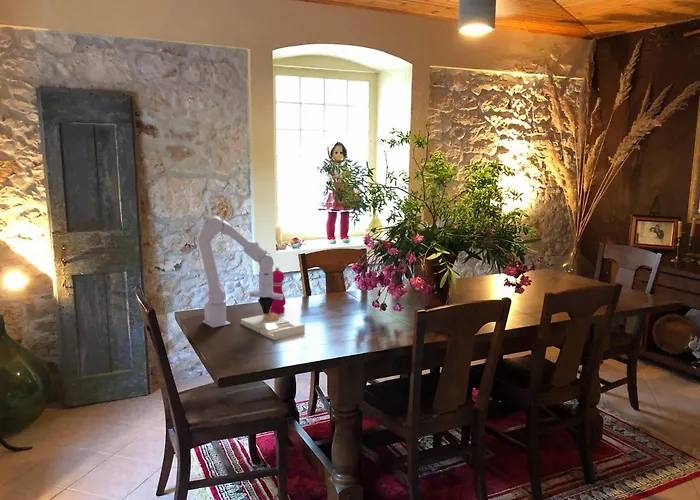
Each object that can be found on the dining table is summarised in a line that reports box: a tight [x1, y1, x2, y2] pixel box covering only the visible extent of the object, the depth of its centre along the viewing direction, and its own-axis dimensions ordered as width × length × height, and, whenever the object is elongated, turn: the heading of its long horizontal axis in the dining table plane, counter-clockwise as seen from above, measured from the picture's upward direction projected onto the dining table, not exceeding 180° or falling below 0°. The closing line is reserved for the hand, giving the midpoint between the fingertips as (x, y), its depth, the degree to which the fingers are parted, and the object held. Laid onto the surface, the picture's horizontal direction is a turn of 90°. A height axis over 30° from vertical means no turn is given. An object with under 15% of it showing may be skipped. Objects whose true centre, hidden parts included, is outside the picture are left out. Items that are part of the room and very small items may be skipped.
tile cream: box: [262, 322, 278, 334], centre depth 219 cm, size 4×4×2 cm
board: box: [240, 314, 290, 334], centre depth 229 cm, size 14×14×2 cm
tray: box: [259, 322, 306, 341], centre depth 219 cm, size 10×14×4 cm
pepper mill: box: [269, 266, 287, 314], centre depth 246 cm, size 7×7×20 cm
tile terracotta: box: [262, 312, 280, 321], centre depth 230 cm, size 4×4×2 cm
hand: (266, 314), depth 233 cm, fingers closed
